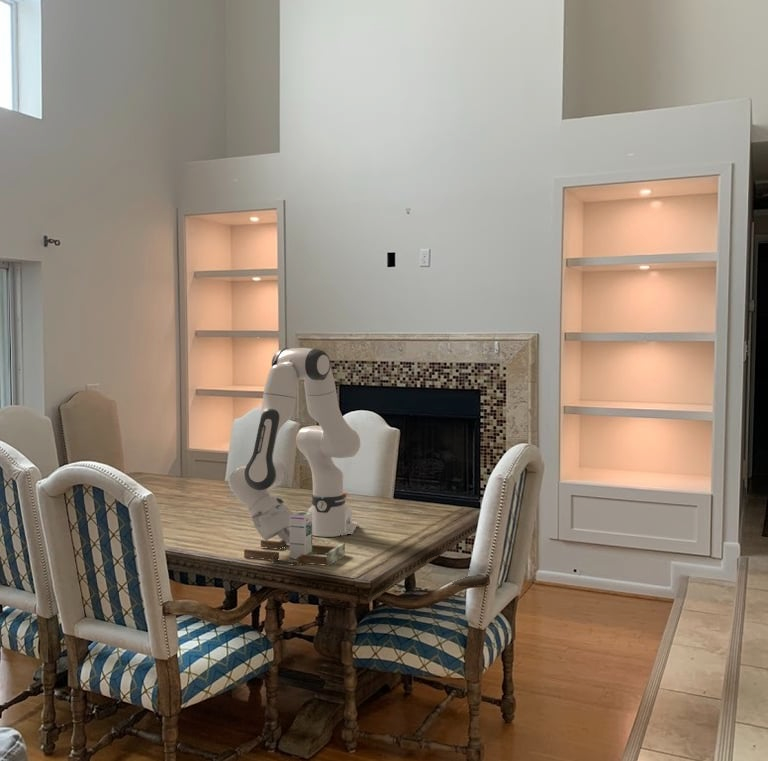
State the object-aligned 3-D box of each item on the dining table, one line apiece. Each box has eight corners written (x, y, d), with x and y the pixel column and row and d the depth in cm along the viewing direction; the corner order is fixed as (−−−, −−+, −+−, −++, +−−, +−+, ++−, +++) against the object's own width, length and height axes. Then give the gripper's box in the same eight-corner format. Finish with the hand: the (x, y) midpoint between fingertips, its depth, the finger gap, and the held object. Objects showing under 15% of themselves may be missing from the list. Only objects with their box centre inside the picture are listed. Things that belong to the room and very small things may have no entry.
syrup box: (305, 560, 261) (306, 516, 260) (288, 558, 263) (289, 514, 262) (312, 555, 266) (313, 512, 265) (296, 553, 268) (296, 510, 267)
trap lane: (268, 543, 281) (267, 532, 280) (349, 551, 271) (349, 539, 271) (239, 559, 261) (239, 547, 261) (326, 568, 252) (326, 556, 252)
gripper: (256, 510, 257) (283, 543, 255) (284, 497, 276) (310, 528, 274) (243, 522, 259) (271, 555, 256) (272, 509, 278) (298, 540, 276)
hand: (291, 541), depth 265 cm, fingers closed, pressing on syrup box
